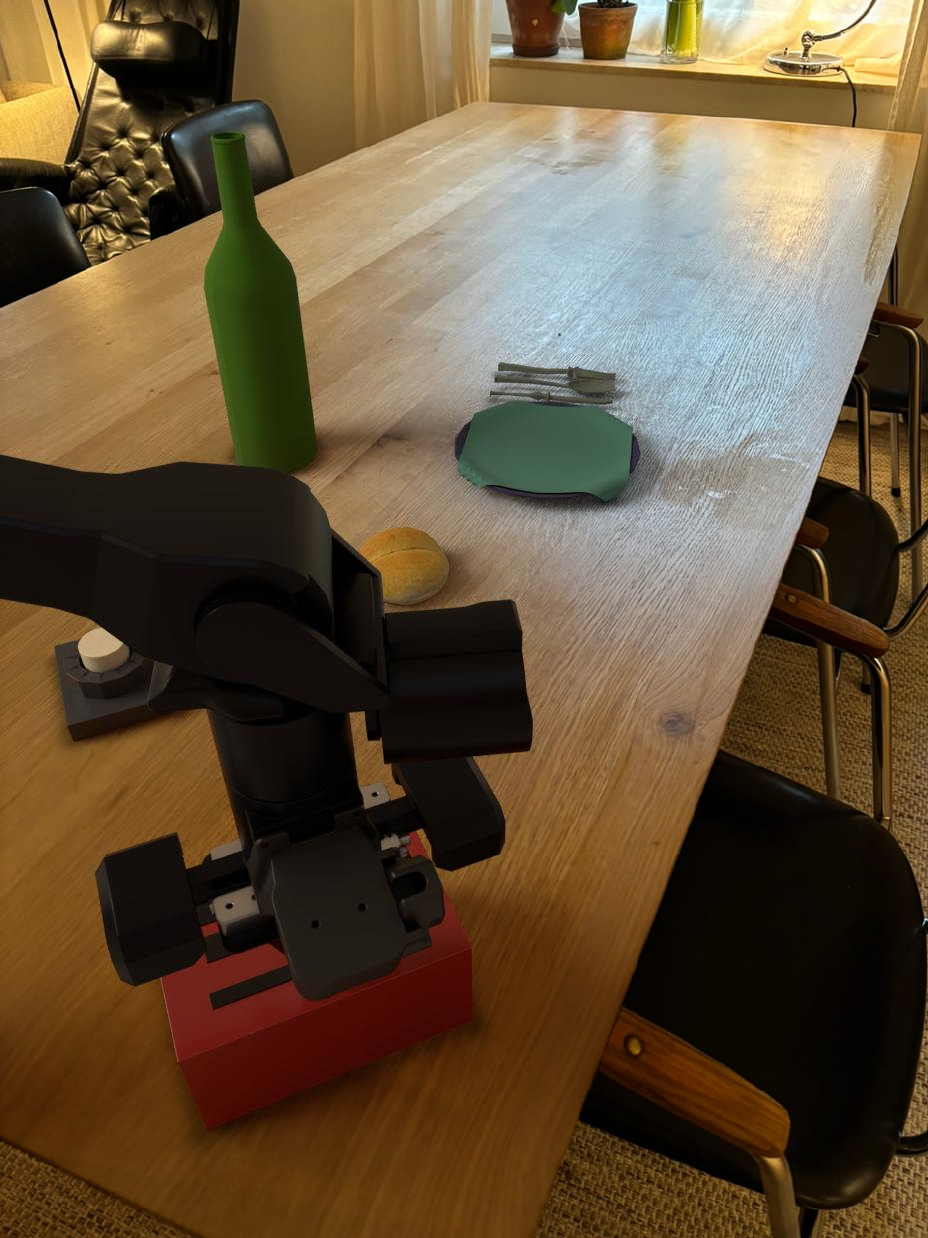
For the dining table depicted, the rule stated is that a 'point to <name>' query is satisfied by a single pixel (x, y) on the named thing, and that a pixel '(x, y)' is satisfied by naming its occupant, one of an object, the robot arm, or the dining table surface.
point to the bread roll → (407, 564)
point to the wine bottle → (257, 326)
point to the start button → (102, 651)
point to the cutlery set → (549, 441)
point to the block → (103, 692)
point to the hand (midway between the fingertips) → (324, 948)
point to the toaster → (304, 1017)
